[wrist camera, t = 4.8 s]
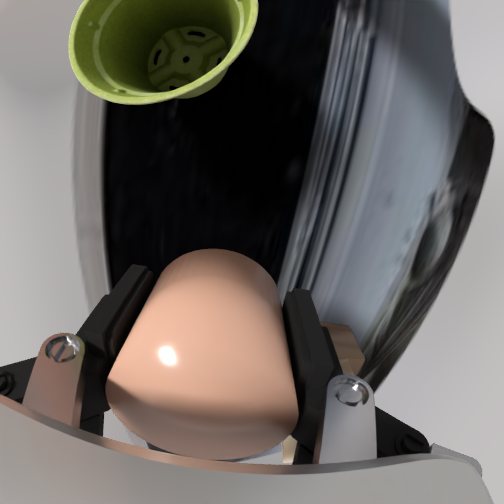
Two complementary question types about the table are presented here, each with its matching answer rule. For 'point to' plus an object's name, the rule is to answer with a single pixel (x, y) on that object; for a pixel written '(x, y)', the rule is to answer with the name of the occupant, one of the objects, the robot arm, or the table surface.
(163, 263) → the table surface
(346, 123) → the table surface
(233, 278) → the peach rounded solid
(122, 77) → the plant pot
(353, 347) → the walnut block
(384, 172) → the table surface
